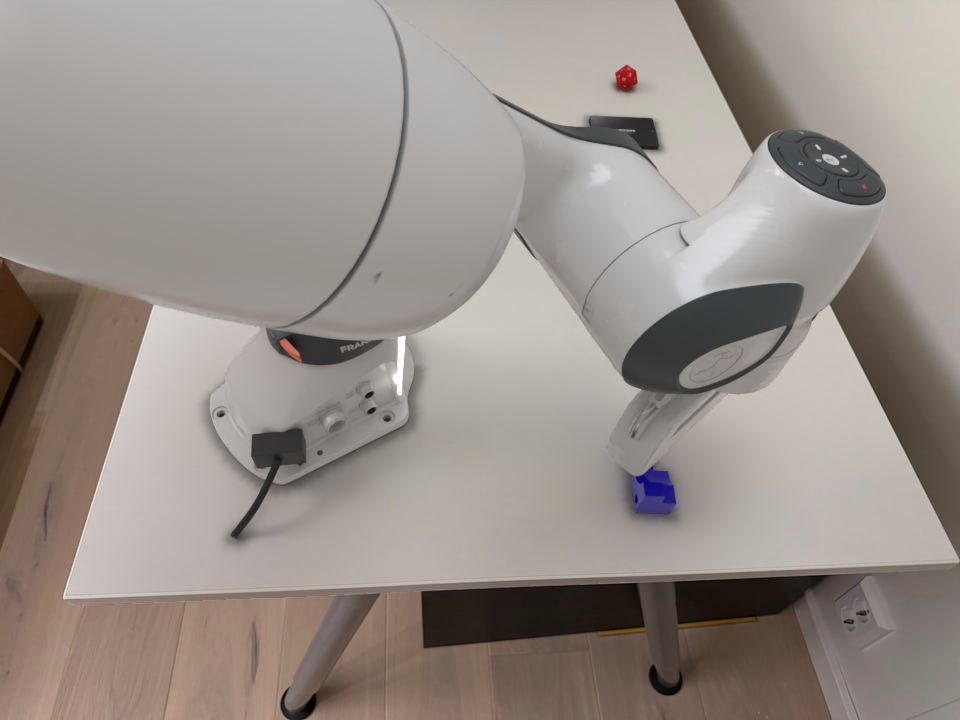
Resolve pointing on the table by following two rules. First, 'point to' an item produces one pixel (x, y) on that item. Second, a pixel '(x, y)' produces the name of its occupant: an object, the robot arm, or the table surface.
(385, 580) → the table surface
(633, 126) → the solid state drive
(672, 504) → the cable holder
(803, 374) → the table surface
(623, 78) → the die
